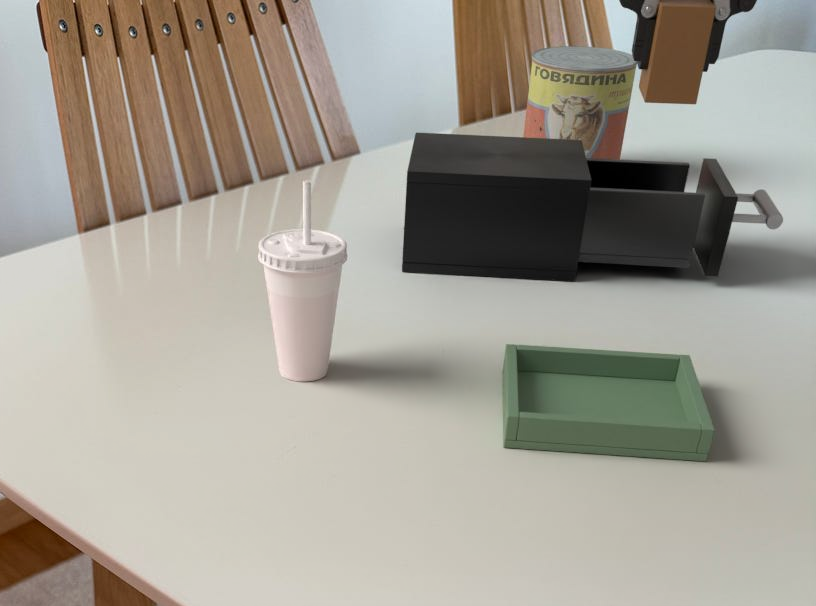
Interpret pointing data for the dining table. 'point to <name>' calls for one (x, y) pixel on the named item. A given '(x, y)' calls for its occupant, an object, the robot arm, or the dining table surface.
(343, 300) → the dining table surface
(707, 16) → the block
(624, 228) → the pull-out drawer box
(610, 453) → the tray
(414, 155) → the black box
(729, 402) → the dining table surface
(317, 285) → the smoothie
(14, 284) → the dining table surface
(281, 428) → the dining table surface
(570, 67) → the canned food
